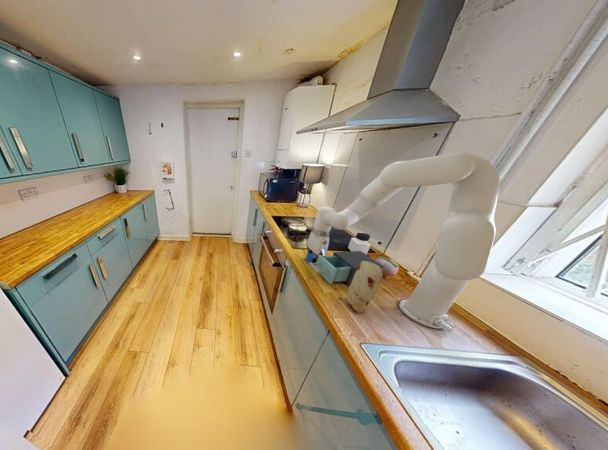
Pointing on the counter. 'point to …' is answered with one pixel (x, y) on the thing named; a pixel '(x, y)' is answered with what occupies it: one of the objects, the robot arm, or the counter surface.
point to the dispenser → (354, 261)
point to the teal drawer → (332, 268)
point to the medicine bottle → (360, 243)
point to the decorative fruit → (388, 266)
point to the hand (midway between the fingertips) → (311, 261)
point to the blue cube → (310, 257)
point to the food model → (363, 285)
